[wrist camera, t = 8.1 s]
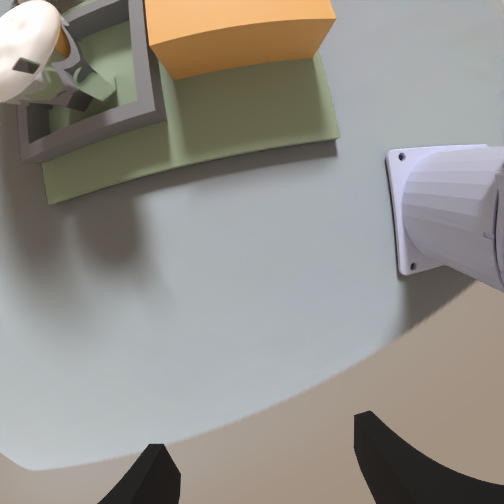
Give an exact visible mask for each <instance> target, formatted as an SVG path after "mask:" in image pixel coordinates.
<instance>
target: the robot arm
mask: <svg viewBox="0 0 504 504" xmlns="http://www.w3.org/2000/svg"><path fill="white" fill-rule="evenodd" d="M399 153H400V154H401V155H402V157H403V159H402V161H400V160H399V158H398V155H399ZM386 162H387V168H388V175H389V181H390V188H391V195H392V203H393V211H394V220H395V230H396V241H397V254H398V269H399V272H400V273H401V274H403V275H411V274H414V273H418V272H422V271H426V270H429V269H433V268H437V267H440V266H444V265H447V266H449V267H451V268H453V269H455V270H458V271H460V272H462V273H464V274H466V275H468V276H470V277H472V278H475V279H477V280H479V281H481V282H483V283H485V284H487V285H489V286H491V287H493V288H495V289H497V290H499V291H501V292H503V293H504V146H499V147H489V146H488V145H486V144H480V145H452V146H434V147H419V148H406V149H395V150H390V151H388V152H387V154H386ZM412 263H414V267H413V268H412V269H410V266H411V264H412ZM354 450H355V454H356V456H357V460H358V463H359V466H360V469H361V472H362V474H363V476H364V478H365V480H366V482H367V485H368V487H369V489H370V491H371V493H372V495H373V497H374V500H375V502H376V504H504V485H499V484H493V483H489V482H485V481H481V480H478V479H475V478H472V477H469V476H466V475H464V474H461V473H458V472H456V471H454V470H452V469H449V468H447V467H445V466H443V465H441V464H439V463H437V462H436V461H434V460H432V459H430V458H428V457H427V456H425V455H424V454H423V453H421V452H419V451H418V450H416V449H415V448H414V447H412V446H411V445H410V444H408V443H407V442H406V441H404V440H403V439H402V438H401V437H399V436H398V435H397V434H396V433H394V432H393V431H392V430H391V429H390V428H389V427H387V426H386V425H385V424H384V423H383V422H382V421H381V420H380V419H379V418H378V417H377V416H376V415H375V414H374V413H373V412H371V411H367V412H363V413H360V414H357V415H354ZM180 482H181V473H180V472H179V470H178V468H177V467H176V465H175V463H174V462H173V460H172V458H171V456H170V455H169V453H168V451H167V449H166V447H165V446H164V444H149V445H148V446H147V448H146V449H145V450H144V451H143V453H142V454H141V455H140V457H139V458H138V459H137V460H136V462H135V463H134V464H133V465H132V467H131V468H130V469H129V470H128V472H127V473H126V474H125V475H124V476H123V478H122V479H121V480H120V481H119V482H118V483H117V484H116V486H115V487H114V488H113V489H112V490H111V491H110V492H109V493H108V494H107V495H106V496H105V497H104V498H103V499H102V500H101V501H100V502H99V503H98V504H178V503H179V497H180Z"/></svg>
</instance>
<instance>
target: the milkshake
mask: <svg viewBox="0 0 504 504" xmlns="http://www.w3.org/2000/svg"><path fill="white" fill-rule="evenodd" d="M115 91H116V85H115V77H114V74H113V73H112V72H111V71H110V70H109V69H108V67H107V66H106V65H105V64H104V63H103V62H102V61H101V60H100V59H99V58H98V57H97V55H96V54H95V53H94V52H93V51H92V50H91V49H90V48H89V47H88V46H87V45H86V44H85V42H84V41H83V40H82V39H81V38H80V37H79V35H78V34H77V33H76V32H75V31H74V29H73V28H72V27H71V26H70V25H69V23H68V22H67V21H66V20H65V19H64V17H63V16H62V15H61V14H60V13H59V11H58V10H57V9H56V8H55V7H54V6H53V5H52V4H50V3H49V2H47V1H43V0H32V1H27V2H25V3H22V4H20V5H18V6H16V7H15V8H13V9H11V10H10V11H8V12H7V13H6V14H4V15H3V16H2V17H0V103H9V104H18V105H26V106H33V107H38V108H44V109H49V110H54V111H59V112H63V113H68V114H73V115H77V116H91V115H96V114H98V113H99V112H100V111H102V110H103V109H104V108H106V107H107V106H108V105H109V104H110V102H111V99H112V97H113V95H114V93H115Z"/></svg>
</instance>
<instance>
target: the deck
mask: <svg viewBox="0 0 504 504" xmlns="http://www.w3.org/2000/svg"><path fill="white" fill-rule="evenodd" d="M60 14H61V15H62V16H63V17H64V19H65V20H66V21H67V22H68V23H69V25H70V26H71V27H72V28H73V29H74V31H75V32H76V33H77V34H78V35H79V37H80V38H81V39H82V40H83V41H84V42H85V44H86V45H87V46H88V47H89V48H90V49H91V50H92V51H93V52H94V53H95V54H96V55H97V57H98V58H99V59H100V60H101V61H102V62H103V63H104V64H105V65H106V66H107V67H108V69H109V70H110V71H111V72H112V73H113V74H114V77H115V85H116V91H115V93H114V95H113V97H112V99H111V102H110V104H109V105H108V106H107V107H106V108H104V109H103V110H102V111H100V112H99V113H98V114H96V115H91V116H77V115H73V114H68V113H63V112H59V111H54V110H49V109H44V108H38V107H33V106H26V105H18V104H17V121H18V138H19V150H20V160H21V162H29V163H42V170H43V177H44V184H45V190H46V196H47V201H48V205H51V204H57V203H60V202H63V201H66V200H69V199H72V198H75V197H78V196H81V195H84V194H87V193H90V192H93V191H96V190H99V189H103V188H106V187H109V186H113V185H116V184H120V183H123V182H126V181H130V180H134V179H137V178H141V177H145V176H148V175H152V174H156V173H160V172H164V171H168V170H172V169H176V168H180V167H184V166H188V165H193V164H197V163H202V162H206V161H211V160H216V159H220V158H225V157H230V156H235V155H240V154H246V153H251V152H257V151H262V150H268V149H274V148H280V147H286V146H293V145H300V144H307V143H314V142H322V141H330V140H336V139H338V138H340V134H339V129H338V124H337V120H336V115H335V111H334V106H333V102H332V98H331V94H330V90H329V86H328V82H327V78H326V74H325V70H324V67H323V63H322V59H321V56H320V52H319V49H318V48H319V47H320V45H321V43H322V42H323V40H324V38H325V37H326V35H327V33H328V32H329V30H330V28H331V27H332V25H333V23H334V22H335V20H336V16H335V13H334V11H333V8H332V5H331V3H330V0H88V1H85V2H83V3H81V4H79V5H77V6H75V7H72V8H70V9H68V10H66V11H64V12H62V13H60Z"/></svg>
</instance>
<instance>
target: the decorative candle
mask: <svg viewBox="0 0 504 504" xmlns="http://www.w3.org/2000/svg"><path fill="white" fill-rule="evenodd" d="M17 1H18V3H19V4H22V3H25V2H27V1H32V0H17ZM43 1H44V0H43Z"/></svg>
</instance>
